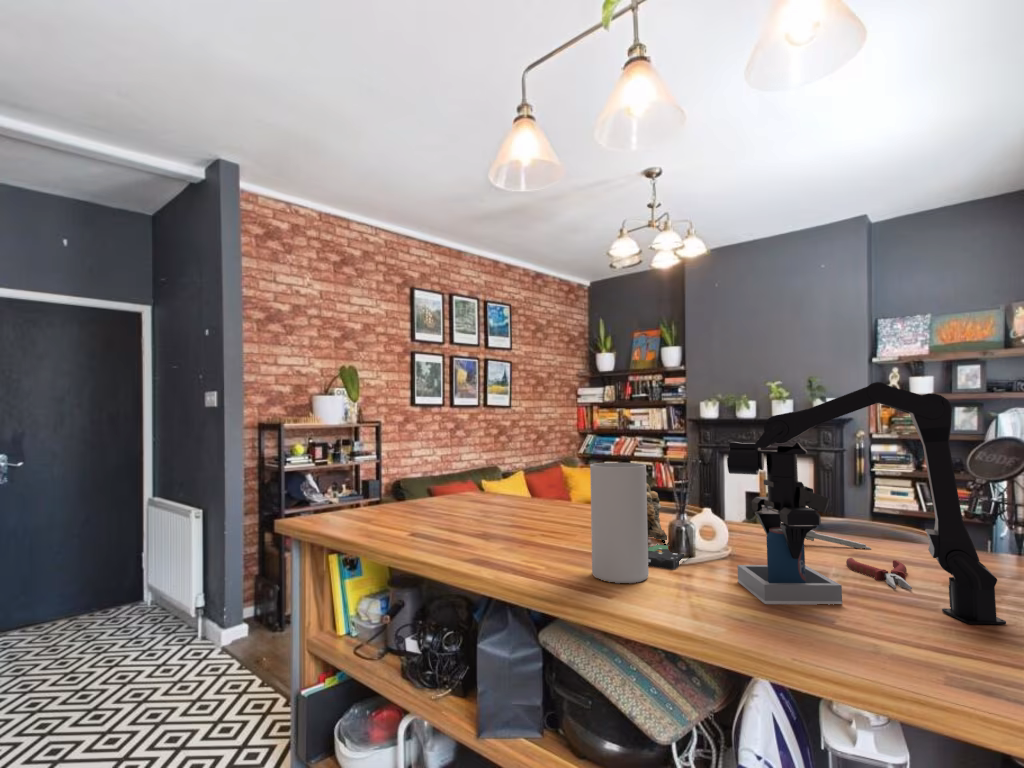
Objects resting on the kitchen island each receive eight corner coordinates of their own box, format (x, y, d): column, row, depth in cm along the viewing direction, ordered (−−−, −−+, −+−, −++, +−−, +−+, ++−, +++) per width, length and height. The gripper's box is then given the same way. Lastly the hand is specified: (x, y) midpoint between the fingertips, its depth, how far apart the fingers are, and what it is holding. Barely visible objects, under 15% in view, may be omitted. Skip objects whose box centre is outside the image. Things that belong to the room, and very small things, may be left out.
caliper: (786, 544, 156) (785, 522, 156) (786, 544, 157) (785, 521, 157) (871, 550, 148) (870, 526, 149) (870, 549, 149) (869, 525, 150)
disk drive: (675, 572, 130) (692, 557, 143) (675, 560, 131) (691, 546, 143) (633, 566, 136) (652, 552, 148) (633, 555, 136) (652, 542, 149)
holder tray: (842, 604, 105) (841, 585, 106) (765, 604, 106) (764, 584, 106) (805, 582, 120) (805, 565, 120) (738, 581, 120) (737, 565, 121)
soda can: (811, 595, 109) (808, 533, 110) (773, 593, 110) (771, 532, 111) (799, 585, 116) (797, 526, 116) (764, 583, 117) (762, 525, 118)
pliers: (871, 591, 114) (871, 578, 115) (844, 566, 134) (844, 555, 134) (937, 596, 111) (936, 583, 111) (899, 570, 130) (899, 559, 130)
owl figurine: (664, 551, 149) (662, 487, 150) (621, 548, 154) (619, 485, 154) (672, 537, 166) (670, 479, 167) (632, 534, 170) (631, 478, 171)
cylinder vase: (604, 566, 134) (602, 462, 135) (655, 573, 127) (653, 463, 129) (583, 579, 123) (581, 466, 125) (638, 588, 117) (635, 468, 118)
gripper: (847, 480, 105) (851, 565, 104) (800, 471, 123) (803, 542, 122) (787, 481, 105) (790, 565, 104) (749, 471, 124) (752, 542, 123)
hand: (785, 552), depth 113 cm, fingers open, 9 cm apart
